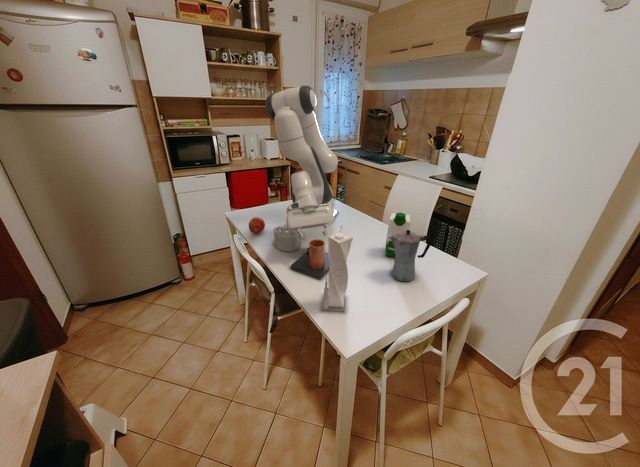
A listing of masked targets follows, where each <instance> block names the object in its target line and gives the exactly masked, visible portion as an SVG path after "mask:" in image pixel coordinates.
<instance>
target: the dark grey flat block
mask: <svg viewBox="0 0 640 467" xmlns="http://www.w3.org/2000/svg"><path fill="white" fill-rule="evenodd" d="M329 266H330V260H329V252H326V251H325V265H324V267H322V268H320V269H314V268H312V267H310V265H309V246H308V247H307V249H306V252H305V253H303V254H302V255H301V256H300V257H299V258H297V259H296V260H295V261H294V262H292V263H291V264H290V270H294V271H295V272H299V273H301V274H303V275H307V276H308V277H312V278H315V279H317V280H322V279H323V277H325V275H326V274H328V273H329Z"/></svg>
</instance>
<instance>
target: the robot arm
mask: <svg viewBox="0 0 640 467" xmlns="http://www.w3.org/2000/svg"><path fill="white" fill-rule="evenodd" d="M264 107H265V111H266V113H267V115H268V117H269V118H270V119H271V120H272V121H273V122H274V130H275V135H276V140H277V144H278V147H279V151H280V153H281V154H282V156H283V157H285V158H286V159H288V160H291V161H294V162H297V164H298V165H299V167H300V168H301V170H298V171H295V172H293V173H292V174H290V182H291V191H290V195H291V199H292V203H290V204H289V205H288V206H287V208H286V217H285V222H286V224H285V225H287V229H288V230H289V231H293V230H297V233H298V236H299V237H300V239H301V240H306V233H302V230H305V229H311V228H316V227H317V228H318V227H323V228H324V230H323V231H322V235H323V237H324V236H325V237H326V236H328V235H329V234H328V229H329V226H330V225H333V224H334V223H335V220H336V216H337V215H338V210H337V209H335V208H334V205H335V204H334V203H333V202H332V201H331V200H332V199H335V200H336V197H335V196H334V195H333V189H332V187H331V185H330V184H329V181H328V179H327V176H326V174H327V173H328V174H329V173H334V172H335V170H337V168H338V165H339V160H338V156H337V154H336V153H334V152H333V151H332V150H331V149H330V148H329V146H328V145H327V143H326V142H325V140H324V139H323V136H322V134H321V132H320V128H319V124H318V121H317V118H316V114H315V110H316V109H317V96H316V92H315V91H314V89H313V88H312V87H311V86H309V85H300V86H295V87H290V88H286V89H284V90H283V89H282V90H280V91H278V92H273V93H271V94H269V95H268V96H267V97H266V99H265V102H264Z"/></svg>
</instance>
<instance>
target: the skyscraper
mask: <svg viewBox="0 0 640 467" xmlns="http://www.w3.org/2000/svg"><path fill="white" fill-rule="evenodd" d="M338 228H340V229H339V232H336V233H335V234H332V233H333V231H334V230H336V229H338ZM342 229H343V225H342V224H340V225H337V226H336V227H334V228H332V229H331V231H330V232H329V234H328V235H327V245H328V253H329V260H330V266H329V271H328V277H325V282H324V285H325V286H324V288H323V302H322V303H323V304H322V307H323V308H322V311H327V312H337V313H338V312H339V313H345V298H346V294H347V289H348V283H349V270H348V264H347V262H348V257H349V253H350V249H351V246H352V242H353V236H348V235H347V234H345V233H343V232H342Z"/></svg>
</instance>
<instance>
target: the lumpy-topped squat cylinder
mask: <svg viewBox="0 0 640 467" xmlns="http://www.w3.org/2000/svg"><path fill="white" fill-rule="evenodd" d="M299 237H300V235H299V234H298V233H297V230H293V231H289V230H288V229H287V224H283V225H278V226H277V227H274V228H273V240H274V245H275V246H276V248H277V249H278V250H280V251H284V252H294V251H296V250H298V249H299V247H300V238H299Z"/></svg>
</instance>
